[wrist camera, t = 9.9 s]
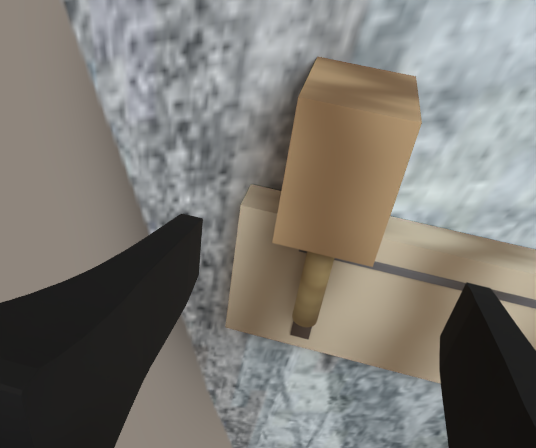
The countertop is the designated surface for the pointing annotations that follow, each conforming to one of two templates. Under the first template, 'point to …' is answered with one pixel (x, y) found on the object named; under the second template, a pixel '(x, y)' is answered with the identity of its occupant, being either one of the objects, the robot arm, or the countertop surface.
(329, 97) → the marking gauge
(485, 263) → the maple board
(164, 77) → the countertop surface
